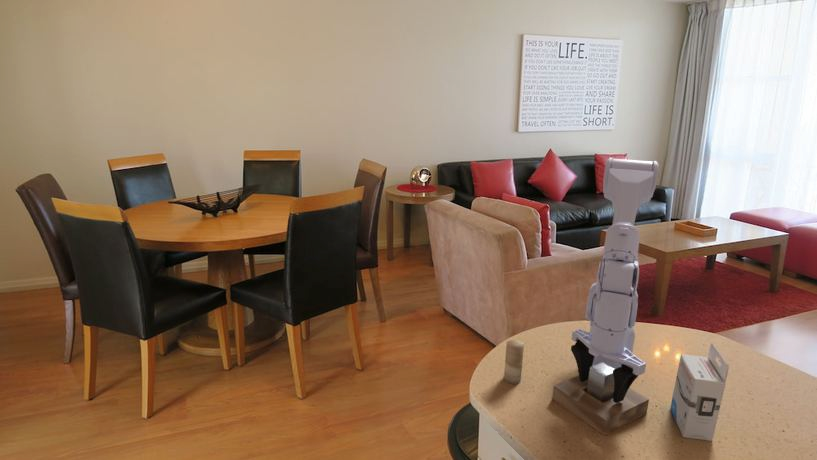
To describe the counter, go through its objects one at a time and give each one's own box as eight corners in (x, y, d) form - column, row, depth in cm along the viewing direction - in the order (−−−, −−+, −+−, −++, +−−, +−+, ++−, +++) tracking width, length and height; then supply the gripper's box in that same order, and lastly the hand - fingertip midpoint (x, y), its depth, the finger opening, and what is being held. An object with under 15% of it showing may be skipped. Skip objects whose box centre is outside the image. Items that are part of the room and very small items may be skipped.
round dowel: (512, 372, 108) (515, 338, 106) (524, 380, 105) (527, 345, 103) (500, 377, 107) (503, 342, 104) (511, 385, 104) (514, 350, 101)
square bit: (596, 398, 100) (602, 362, 98) (611, 408, 97) (617, 370, 95) (584, 404, 98) (590, 367, 96) (599, 413, 96) (605, 376, 93)
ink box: (669, 408, 98) (682, 338, 93) (697, 412, 97) (712, 341, 93) (682, 438, 90) (697, 362, 85) (713, 442, 89) (730, 366, 84)
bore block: (593, 381, 106) (595, 368, 105) (646, 413, 96) (649, 399, 95) (552, 399, 100) (553, 385, 99) (604, 435, 90) (606, 420, 89)
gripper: (563, 313, 97) (556, 376, 101) (631, 347, 85) (620, 418, 89) (589, 305, 100) (581, 367, 104) (657, 337, 89) (645, 405, 93)
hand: (600, 389), depth 97 cm, fingers open, 7 cm apart
